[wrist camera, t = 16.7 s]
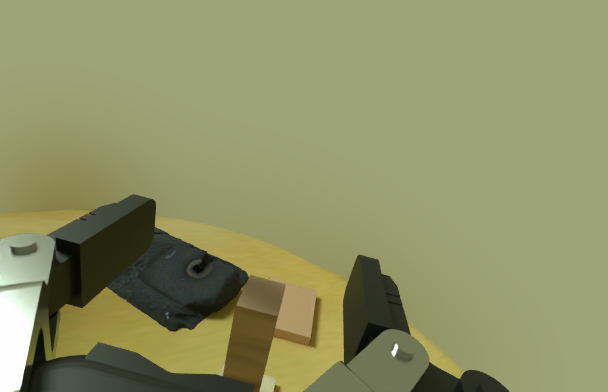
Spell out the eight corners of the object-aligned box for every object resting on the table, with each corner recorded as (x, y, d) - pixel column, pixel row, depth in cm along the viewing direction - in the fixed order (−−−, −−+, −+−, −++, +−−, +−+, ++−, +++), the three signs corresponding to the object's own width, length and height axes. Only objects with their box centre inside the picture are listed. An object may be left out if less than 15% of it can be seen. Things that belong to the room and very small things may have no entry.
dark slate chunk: (159, 231, 58) (160, 208, 56) (256, 283, 50) (261, 258, 49) (69, 266, 44) (68, 237, 43) (183, 344, 37) (186, 312, 35)
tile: (310, 337, 40) (316, 290, 49) (250, 321, 40) (268, 277, 50) (307, 348, 41) (314, 299, 50) (248, 331, 41) (266, 286, 50)
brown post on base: (253, 481, 26) (290, 347, 21) (184, 462, 26) (204, 324, 21) (274, 384, 34) (304, 272, 29) (222, 370, 34) (243, 256, 29)
